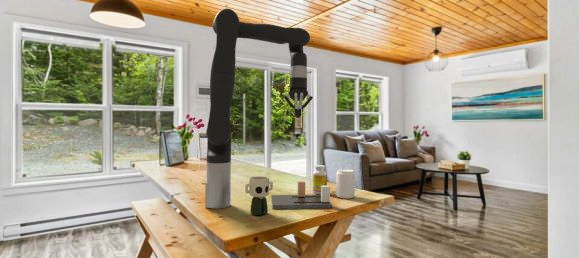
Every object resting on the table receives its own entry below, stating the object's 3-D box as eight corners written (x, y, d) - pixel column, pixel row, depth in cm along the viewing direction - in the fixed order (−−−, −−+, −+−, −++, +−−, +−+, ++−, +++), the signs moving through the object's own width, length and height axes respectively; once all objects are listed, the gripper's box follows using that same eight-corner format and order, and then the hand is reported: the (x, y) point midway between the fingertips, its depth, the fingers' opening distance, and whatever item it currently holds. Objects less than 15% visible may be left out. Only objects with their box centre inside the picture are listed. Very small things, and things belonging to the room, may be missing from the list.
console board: (272, 209, 115) (272, 204, 115) (271, 198, 131) (271, 194, 131) (332, 208, 117) (332, 204, 117) (323, 197, 133) (323, 194, 133)
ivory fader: (322, 202, 119) (322, 186, 119) (320, 200, 121) (321, 185, 121) (329, 202, 119) (329, 186, 119) (328, 200, 122) (328, 185, 121)
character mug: (249, 218, 103) (249, 180, 103) (241, 213, 109) (241, 177, 109) (277, 214, 109) (277, 178, 109) (267, 209, 115) (268, 175, 115)
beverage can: (357, 196, 137) (357, 170, 136) (350, 200, 130) (350, 172, 129) (340, 193, 141) (340, 168, 141) (333, 197, 134) (333, 170, 134)
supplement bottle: (326, 195, 138) (326, 167, 138) (311, 194, 140) (312, 166, 139) (327, 191, 145) (327, 165, 145) (313, 190, 146) (314, 164, 146)
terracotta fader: (298, 196, 127) (298, 182, 127) (297, 195, 130) (297, 181, 129) (305, 196, 127) (305, 182, 127) (304, 195, 130) (304, 181, 130)
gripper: (283, 75, 126) (283, 117, 126) (315, 76, 127) (314, 118, 127) (282, 78, 133) (282, 117, 134) (312, 79, 134) (311, 118, 135)
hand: (297, 117), depth 131 cm, fingers closed
